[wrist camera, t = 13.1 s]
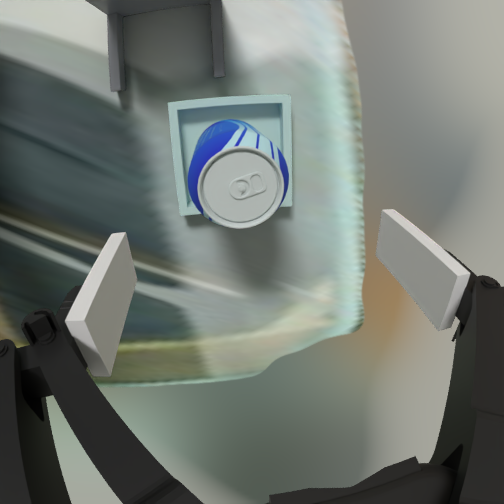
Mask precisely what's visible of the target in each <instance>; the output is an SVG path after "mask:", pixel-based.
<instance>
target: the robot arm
mask: <svg viewBox="0 0 504 504" xmlns="http://www.w3.org/2000/svg"><path fill="white" fill-rule="evenodd" d="M376 256H377V258H378V259H379V260H380V261H381V262H382V263H383V264H384V265H385V267H386V268H387V269H388V270H389V271H390V272H391V274H392V275H393V276H394V277H395V278H396V279H397V280H398V282H399V283H400V284H401V285H402V287H403V288H404V289H405V290H406V291H407V293H408V294H409V295H410V296H411V297H412V299H413V300H414V301H415V302H416V304H417V305H418V306H419V307H420V309H421V310H422V311H423V312H424V314H425V315H426V316H427V317H428V319H429V320H430V321H431V322H432V324H433V325H434V326H435V327H436V329H437V330H438V331H440V330H444V329H447V328H450V327H451V326H452V324H453V321H454V319H455V316H456V317H457V318H458V319H459V320H460V323H459V325H458V327H457V330H456V332H455V334H454V337H453V339H452V341H454V340H455V339H456V346H455V353H454V361H453V368H452V374H451V380H450V387H449V392H448V397H447V402H446V407H445V411H444V416H443V421H442V425H441V429H440V433H439V437H438V441H437V444H436V448H435V451H434V454H433V456H432V458H431V460H430V462H429V463H420V464H419V463H418V461H417V459H416V457H412V458H409V459H407V460H404V461H402V462H399V463H396V464H393V465H391V466H388V467H385V468H383V469H381V470H380V471H378V472H377V473H375V474H373V475H372V476H370V477H368V478H367V479H365V480H363V481H361V482H360V483H358V484H356V485H354V486H352V487H348V488H308V489H303V490H297V491H292V492H286V493H280V494H274V495H269V503H266V504H504V287H501V286H500V284H499V283H498V282H497V281H496V280H495V279H493V278H490V277H489V276H483V275H482V276H478V277H477V276H476V275H475V274H474V273H473V272H472V271H471V270H470V269H469V268H467V267H466V266H465V265H464V264H463V263H462V262H461V261H460V260H458V259H457V258H456V257H455V256H453V254H451V253H450V252H448V251H447V250H445V249H443V248H441V247H440V246H439V245H438V244H436V243H435V242H434V241H433V240H432V239H431V238H429V237H428V236H427V235H426V234H424V233H423V232H422V231H421V230H419V229H418V228H417V227H416V226H415V225H413V224H412V223H411V222H409V221H408V220H407V219H406V218H404V217H403V216H402V215H400V214H399V213H398V212H396V211H395V210H394V209H390V210H382V212H381V221H380V228H379V235H378V243H377V249H376ZM136 282H137V276H136V272H135V269H134V265H133V261H132V256H131V252H130V248H129V244H128V239H127V235H126V232H123V233H115V234H111V236H110V238H109V239H108V241H107V243H106V244H105V246H104V248H103V249H102V251H101V253H100V255H99V256H98V258H97V260H96V262H95V264H94V265H93V267H92V269H91V271H90V273H89V275H88V276H87V278H86V280H85V282H84V284H83V285H82V286H75V287H74V288H73V289H72V290H71V291H70V292H69V293H68V294H67V296H66V297H65V299H64V302H63V303H62V305H61V307H60V309H59V310H58V312H57V314H56V316H54V314H53V312H52V311H51V310H50V309H46V308H43V309H38V310H35V311H33V312H31V313H30V314H28V315H27V316H26V317H25V318H24V320H23V322H22V324H21V328H22V330H23V332H24V334H25V336H26V338H27V339H28V341H29V343H30V345H28V346H24V347H20V348H16V346H15V344H14V342H12V341H11V340H9V339H4V340H1V341H0V504H72V503H71V501H70V498H69V495H68V491H67V488H66V485H65V482H64V478H63V476H62V471H61V468H60V464H59V460H58V456H57V452H56V448H55V444H54V440H53V435H52V430H51V426H50V420H49V415H48V409H47V403H46V397H47V396H51V395H54V397H55V399H56V401H57V403H58V405H59V407H60V409H61V411H62V412H63V414H64V416H65V418H66V419H67V422H68V423H69V425H70V427H71V429H72V430H73V432H74V434H75V435H76V437H77V439H78V440H79V442H80V443H81V445H82V447H83V448H84V450H85V452H86V453H87V455H88V456H89V458H90V459H91V461H92V462H93V464H94V465H95V467H96V468H97V470H98V471H99V472H100V474H101V475H102V477H103V478H104V479H105V481H106V482H107V483H108V485H109V486H110V488H111V489H112V490H113V492H114V493H115V494H116V496H117V497H118V498H119V499H120V501H121V502H122V503H123V504H203V503H202V502H201V501H200V500H199V499H198V498H197V497H196V496H195V495H194V494H193V493H191V492H190V491H189V490H188V489H187V488H186V487H185V486H184V485H183V484H182V483H181V482H179V481H178V480H177V479H175V478H174V477H173V476H171V475H170V473H169V472H168V471H167V470H165V468H164V467H163V466H162V465H161V464H160V463H159V462H158V461H157V460H156V459H155V458H154V457H153V455H152V454H151V453H150V452H149V451H148V450H147V449H146V448H145V447H144V446H143V444H142V443H141V442H140V441H139V440H138V438H137V437H136V436H135V435H134V434H133V433H132V431H131V430H130V429H129V428H128V426H127V425H126V424H125V423H124V421H123V420H122V419H121V418H120V416H119V415H118V414H117V413H116V411H115V410H114V409H113V408H112V406H111V405H110V403H109V402H108V401H107V400H106V398H105V397H104V395H103V394H102V393H101V391H100V390H99V388H98V387H97V386H96V384H95V383H94V381H93V380H92V378H91V377H90V375H89V374H88V372H87V371H86V369H87V367H88V369H89V370H90V372H91V374H92V376H101V377H111V373H112V369H113V365H114V361H115V357H116V353H117V349H118V345H119V341H120V337H121V334H122V330H123V326H124V323H125V319H126V316H127V312H128V309H129V305H130V302H131V299H132V295H133V292H134V289H135V286H136Z"/></svg>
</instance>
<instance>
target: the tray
mask: <svg viewBox="0 0 504 504" xmlns="http://www.w3.org/2000/svg"><path fill="white" fill-rule="evenodd" d="M168 112H169V123H170V133H171V143H172V153H173V162H174V170H175V179H176V187H177V195H178V203H179V210H180V216H184V215H194V214H201V213H200V212H199V210H198V209H197V208H196V206H195V205H194V203H193V201H192V199H191V197H190V194H189V190H188V180H187V179H188V171H189V167H190V163H191V160H192V157H193V153H194V150H195V147H196V144H197V141H198V139H199V137H200V136H201V134H202V133H203V132H204V131H205V130H206V129H207V128H208V127H209V126H211V125H212V124H214V123H216V122H218V121H222V120H227V119H235V120H240V121H244V122H246V123H248V124H250V125H251V126H253V127H254V128H255V129H256V130H258V131H259V132H260V133H262V134H263V135H264V136H265V137H267V138H268V139H269V140H270V141H271V142H273V143H274V144H275V145H276V146H277V147H278V149H279V150H280V151H281V153H282V154H283V156H284V158H285V160H286V163H287V167H288V172H289V185H288V190H287V193H286V196H285V198H284V200H283V202H282V204H281V205H280V207H288V206H292V128H291V95H289V94H277V95H245V96H228V97H215V98H203V99H193V100H184V101H176V102H169V103H168Z"/></svg>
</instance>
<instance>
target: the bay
mask: <svg viewBox="0 0 504 504" xmlns="http://www.w3.org/2000/svg"><path fill="white" fill-rule="evenodd" d="M86 1H87V2H89V3H90V4H92V5H93V6H95V7H96V8H98V9H99V10H101V11H102V12H104V13H105V14H107V25H108V55H109V72H110V86H111V92H114V91H122V90H126V82H125V68H124V50H123V18H122V17H124V16H129V15H134V14H139V13H144V12H149V11H155V10H162V9H168V8H176V7H184V6H193V5H204V4H210V5H211V28H212V49H213V68H214V78H219V77H225V68H224V49H223V28H222V6H221V0H86Z"/></svg>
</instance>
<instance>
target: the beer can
mask: <svg viewBox="0 0 504 504" xmlns="http://www.w3.org/2000/svg"><path fill="white" fill-rule="evenodd" d="M187 180H188V190H189V194H190V197H191V199H192V201H193V203H194V205H195V206H196V208H197V209H198V210H199V212H200V213H201V214H202V215H203V216H205V217H206V218H207V219H209V220H210V221H212V222H214V223H216V224H218V225H221V226H225V227H229V228H234V229H244V228H250V227H254V226H256V225H259V224H261V223H263V222H264V221H266V220H267V219H268V218H270V217H271V216H272V215H273V214H274V213H275V212H276V210H277V209H278V208H279V207H280V205H281V204H282V202H283V200H284V198H285V196H286V193H287V190H288V185H289V172H288V167H287V163H286V160H285V158H284V156H283V154H282V153H281V151H280V150H279V149H278V147H277V146H276V145H275V144H274V143H273V142H271V141H270V140H269V139H268V138H267V137H265V136H264V135H263V134H262V133H260V132H259V131H258V130H256V129H255V128H254V127H253V126H251V125H250V124H248V123H246V122H244V121H240V120H235V119H227V120H222V121H218V122H216V123H214V124H212V125H211V126H209V127H208V128H207V129H206V130H205V131H204V132H203V133H202V134H201V136H200V137H199V139H198V141H197V144H196V147H195V150H194V153H193V157H192V160H191V163H190V167H189V171H188V179H187Z"/></svg>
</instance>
